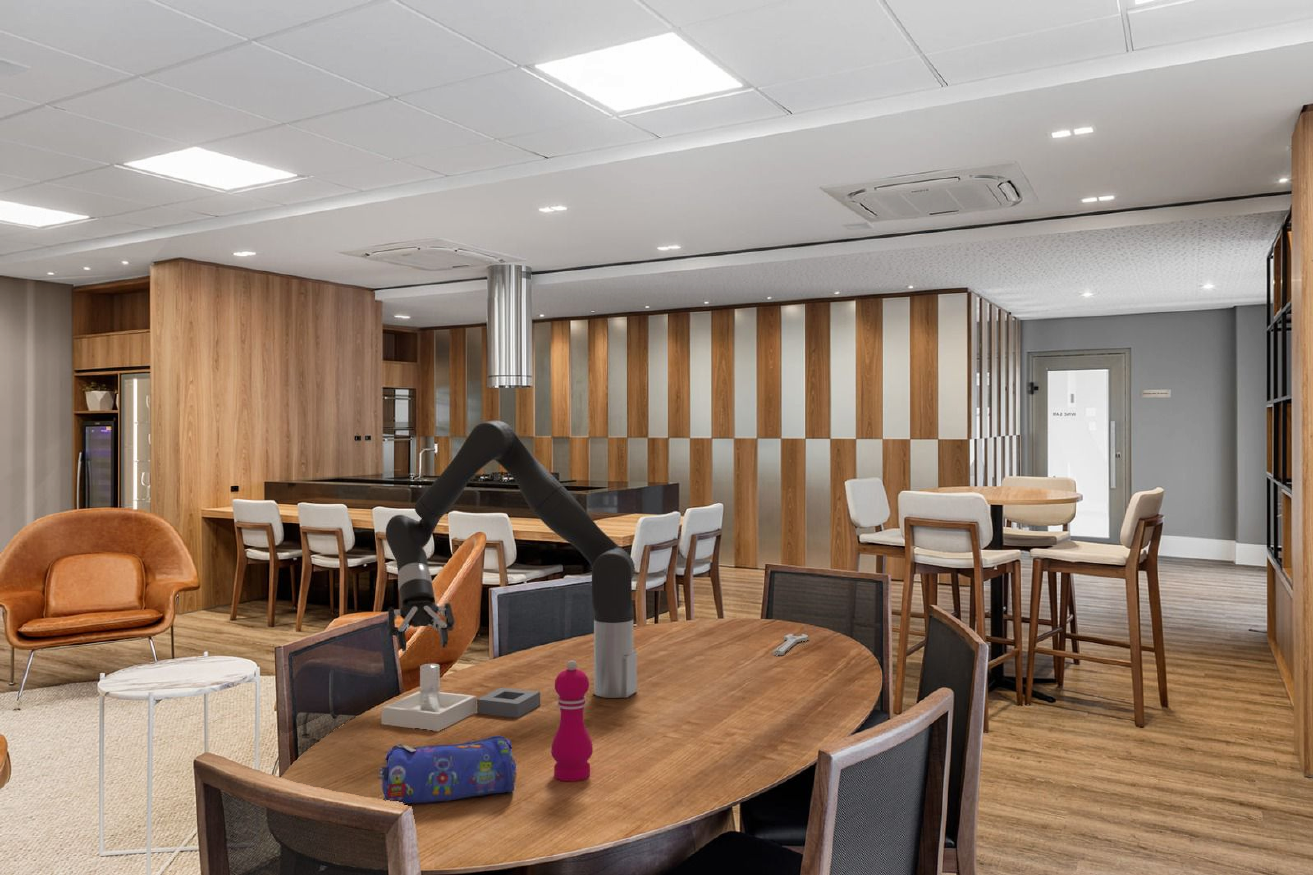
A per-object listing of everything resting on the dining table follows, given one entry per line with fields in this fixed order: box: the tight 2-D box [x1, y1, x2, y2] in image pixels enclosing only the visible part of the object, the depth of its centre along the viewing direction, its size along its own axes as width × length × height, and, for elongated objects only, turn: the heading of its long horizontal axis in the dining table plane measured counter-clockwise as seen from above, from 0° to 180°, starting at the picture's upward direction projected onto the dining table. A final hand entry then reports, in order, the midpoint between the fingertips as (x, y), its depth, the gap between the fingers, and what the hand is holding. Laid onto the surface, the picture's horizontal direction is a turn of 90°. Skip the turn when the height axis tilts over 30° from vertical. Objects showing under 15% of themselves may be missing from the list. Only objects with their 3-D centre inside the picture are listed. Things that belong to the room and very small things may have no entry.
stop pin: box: [419, 663, 441, 712], centre depth 189 cm, size 4×4×10 cm
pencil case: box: [377, 735, 517, 805], centre depth 146 cm, size 22×9×10 cm, turn 105°
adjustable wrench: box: [772, 633, 809, 656], centre depth 256 cm, size 25×6×2 cm, turn 152°
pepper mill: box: [550, 660, 594, 782], centre depth 156 cm, size 7×7×20 cm
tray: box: [381, 690, 477, 733], centre depth 189 cm, size 14×14×4 cm
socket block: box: [476, 687, 541, 719], centre depth 195 cm, size 10×10×3 cm
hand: (424, 647), depth 195 cm, fingers open, 8 cm apart
